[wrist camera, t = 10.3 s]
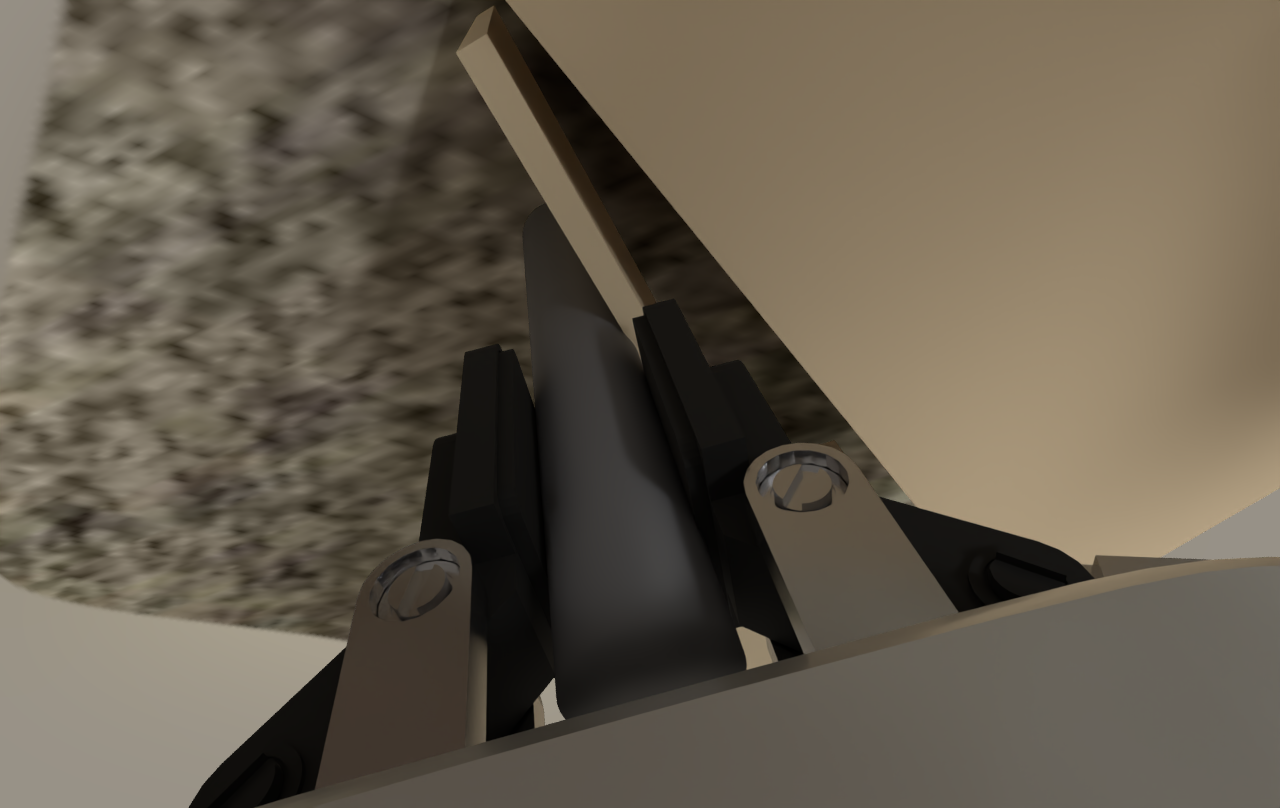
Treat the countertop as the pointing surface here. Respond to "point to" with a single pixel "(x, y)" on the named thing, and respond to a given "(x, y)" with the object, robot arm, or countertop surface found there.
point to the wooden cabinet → (986, 233)
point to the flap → (599, 431)
